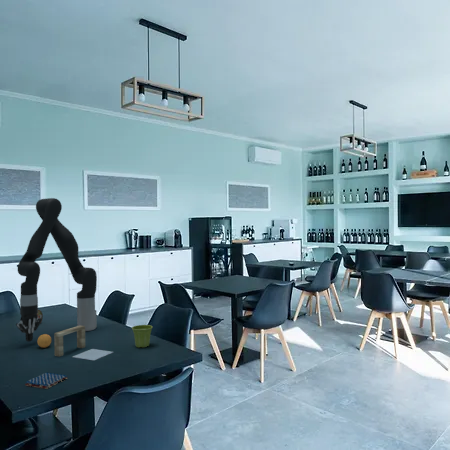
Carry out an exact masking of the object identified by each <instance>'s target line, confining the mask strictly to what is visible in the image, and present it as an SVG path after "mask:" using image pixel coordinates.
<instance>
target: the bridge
mask: <svg viewBox="0 0 450 450" xmlns="http://www.w3.org/2000/svg"><path fill="white" fill-rule="evenodd" d="M75 332H76V346H77V348H78V349H84V348H86V331H85V326H81V325H80V326H77V325H76V326H74V327H71V328H66V329H63V330H61V331H57V332H54V334H53V336H54V337H53V338H54V339H53V340H54V357H62V356H64V336H66V335H69V334H70V335H71V334H72V333H75Z"/></svg>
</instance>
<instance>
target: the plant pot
mask: <svg viewBox="0 0 450 450" xmlns="http://www.w3.org/2000/svg"><path fill="white" fill-rule="evenodd" d="M131 329H132V332H133V336H134V337H133V338H134V345H135V347H136V348H147V346H148V347H149V346H150V342H151V341H150V339H151V333H152V329H153V326H152V324H151V325H150V324H138V325H134V326H132V327H131Z"/></svg>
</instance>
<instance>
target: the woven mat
mask: <svg viewBox="0 0 450 450" xmlns="http://www.w3.org/2000/svg"><path fill="white" fill-rule="evenodd" d="M64 379H67V380H68V375H66V374H62V373H61V374H58V373H55V372H54V373H52V372H50V373H49V372H44V373H42V374H40V375H38V376H36V377H33V378H31V379H29V380H27V381H25V384H24V385H25V386H27V387H31V386H32V387H33V388H38V389H46V390H48V389H49V388H52V386H56V385H58V384H59V383H58V382H60V381H61V382H60V383H62V382H63V381H62V380H64ZM64 381H65V380H64Z"/></svg>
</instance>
